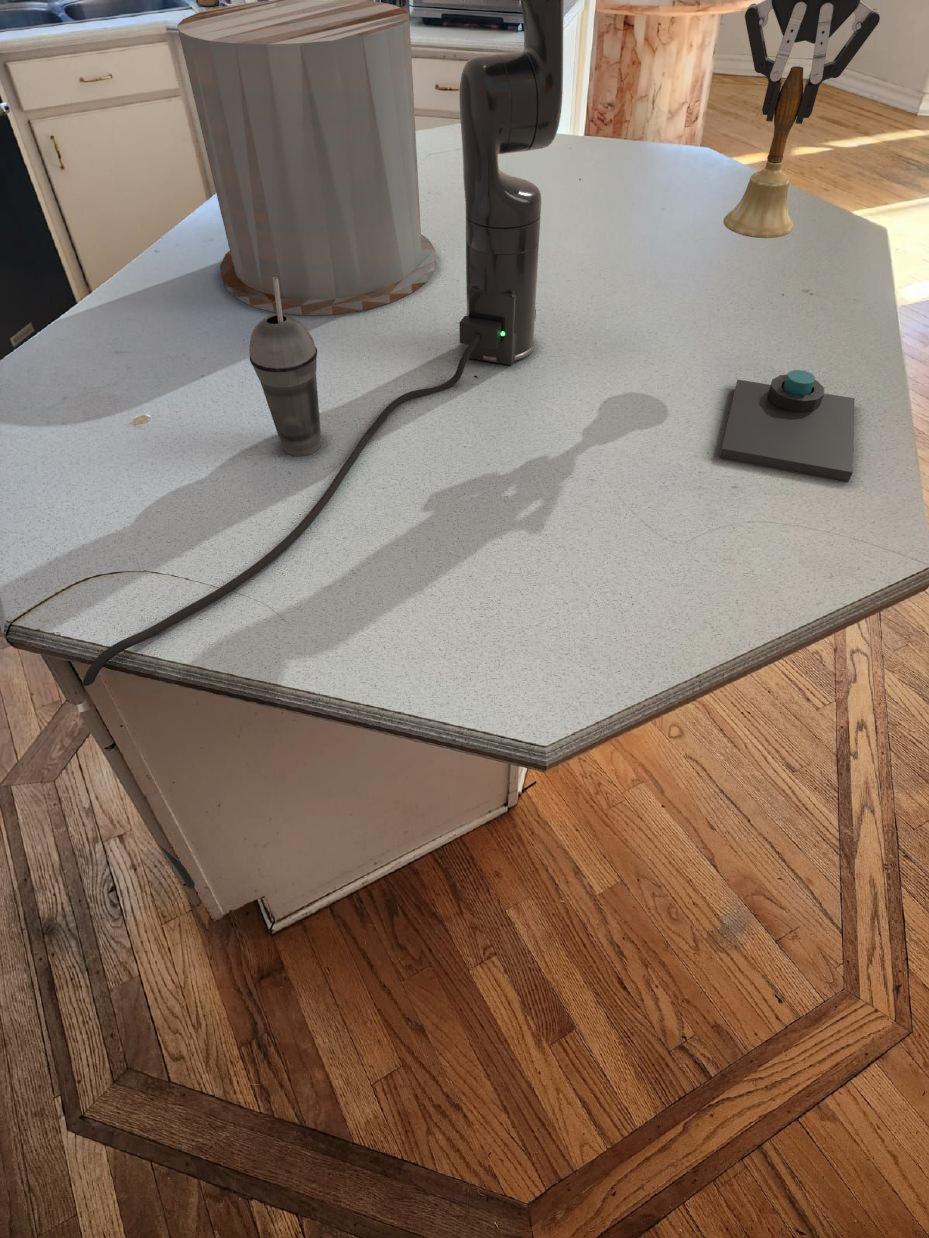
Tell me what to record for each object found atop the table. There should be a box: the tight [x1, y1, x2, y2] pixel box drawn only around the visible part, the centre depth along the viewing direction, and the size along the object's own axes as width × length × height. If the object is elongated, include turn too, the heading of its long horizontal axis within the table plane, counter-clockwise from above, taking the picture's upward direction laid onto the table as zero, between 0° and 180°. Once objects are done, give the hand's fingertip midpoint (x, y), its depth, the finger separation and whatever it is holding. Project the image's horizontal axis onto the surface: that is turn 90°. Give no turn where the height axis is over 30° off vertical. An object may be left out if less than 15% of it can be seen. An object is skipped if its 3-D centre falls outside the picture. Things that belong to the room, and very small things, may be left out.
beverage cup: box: [249, 277, 322, 457], centre depth 83 cm, size 7×7×20 cm
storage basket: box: [177, 0, 437, 316], centre depth 113 cm, size 35×35×32 cm
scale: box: [718, 373, 856, 483], centre depth 89 cm, size 16×14×3 cm
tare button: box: [783, 369, 816, 396], centre depth 91 cm, size 3×3×2 cm
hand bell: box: [723, 65, 804, 239], centre depth 87 cm, size 8×8×16 cm
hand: (784, 120), depth 84 cm, fingers closed on hand bell, 2 cm apart
